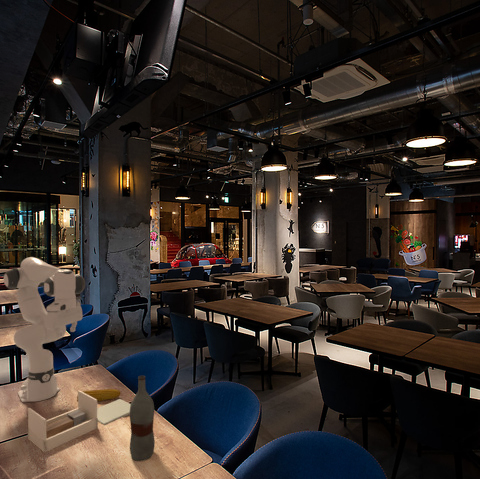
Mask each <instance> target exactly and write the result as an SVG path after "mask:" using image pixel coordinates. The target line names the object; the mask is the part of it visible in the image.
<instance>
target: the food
mask: <svg viewBox="0 0 480 479" xmlns="http://www.w3.org/2000/svg"><path fill="white" fill-rule="evenodd" d="M82 392H83V393H85V394H87V395H89V396H91V397H93V398H95V399H97V402H103V401H108V400H113V399H118V398H119V397H120V396H121V394H122V393H121V391H120V390H119V389H117V388H116V389H115V388H107V389H106V388H105V389H92V390H83V391H82ZM76 402H77V403H78V395H77V396H76Z"/></svg>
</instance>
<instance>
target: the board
mask: <svg viewBox="0 0 480 479" xmlns="http://www.w3.org/2000/svg"><path fill="white" fill-rule="evenodd" d="M130 406H131V403H129V402H127V401H125V400H123V399H121V398H119V399H118V398H117V399H116V400H114V401H112V402H109V403H107V404H104V405H102V406H99V407H97V418H98V423H100V424H101V425H103V426H105V425H107V424H110V423H112V422H114V421H116V420H118V419H120V418H126V417H127V416H130V415H129V414H130Z"/></svg>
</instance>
